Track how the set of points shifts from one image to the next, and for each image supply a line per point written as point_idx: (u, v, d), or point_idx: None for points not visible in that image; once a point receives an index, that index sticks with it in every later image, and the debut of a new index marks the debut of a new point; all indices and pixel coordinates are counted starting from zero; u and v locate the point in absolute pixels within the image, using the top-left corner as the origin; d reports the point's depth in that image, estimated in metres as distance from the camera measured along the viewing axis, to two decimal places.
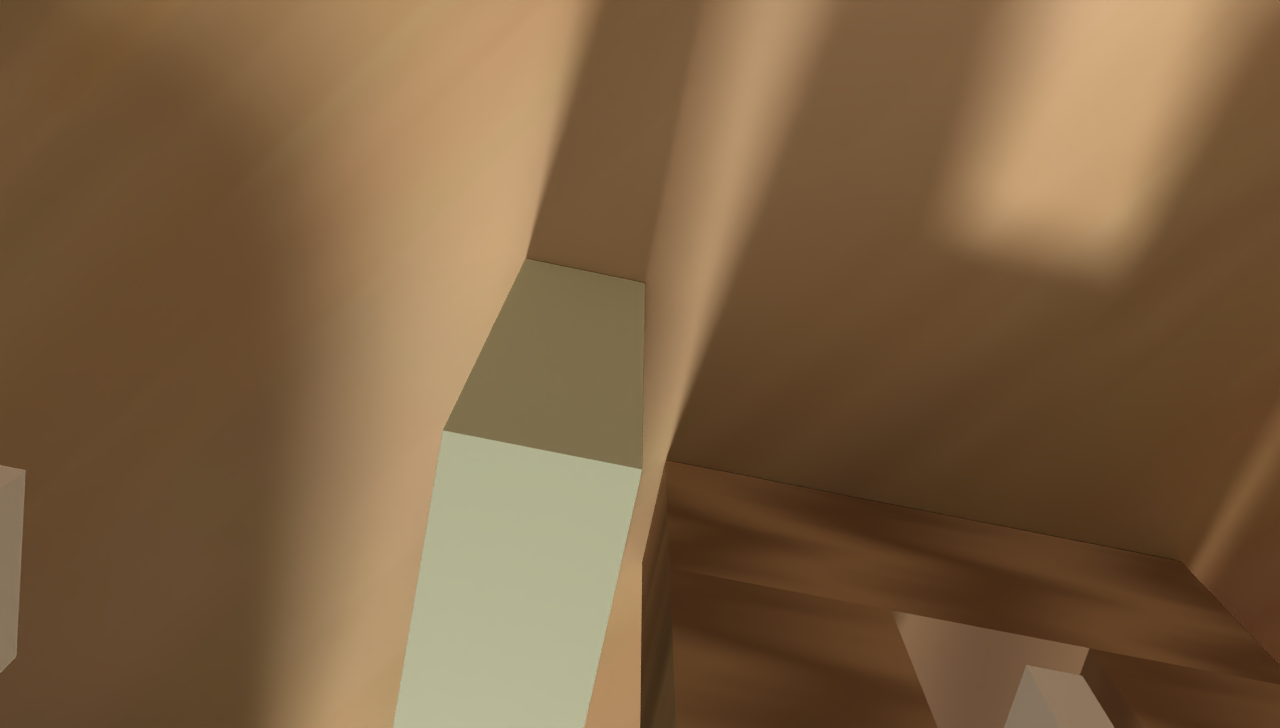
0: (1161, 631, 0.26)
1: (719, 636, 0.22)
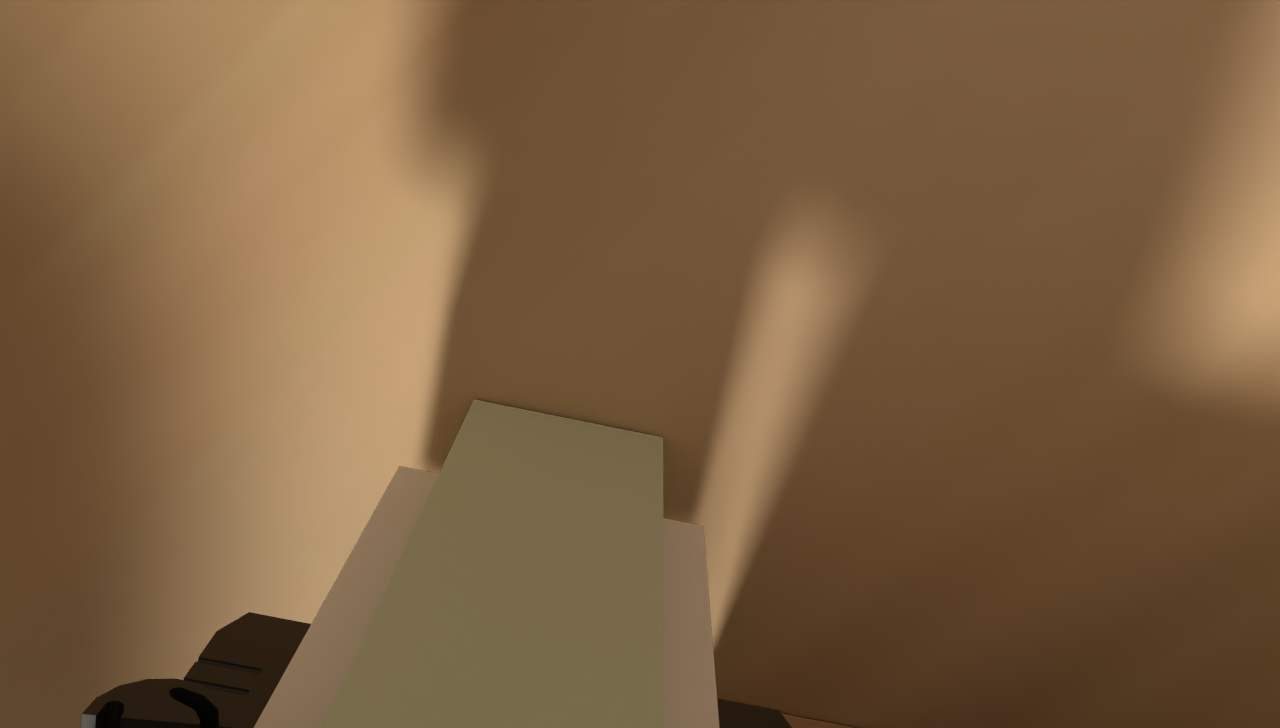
0: None
1: None
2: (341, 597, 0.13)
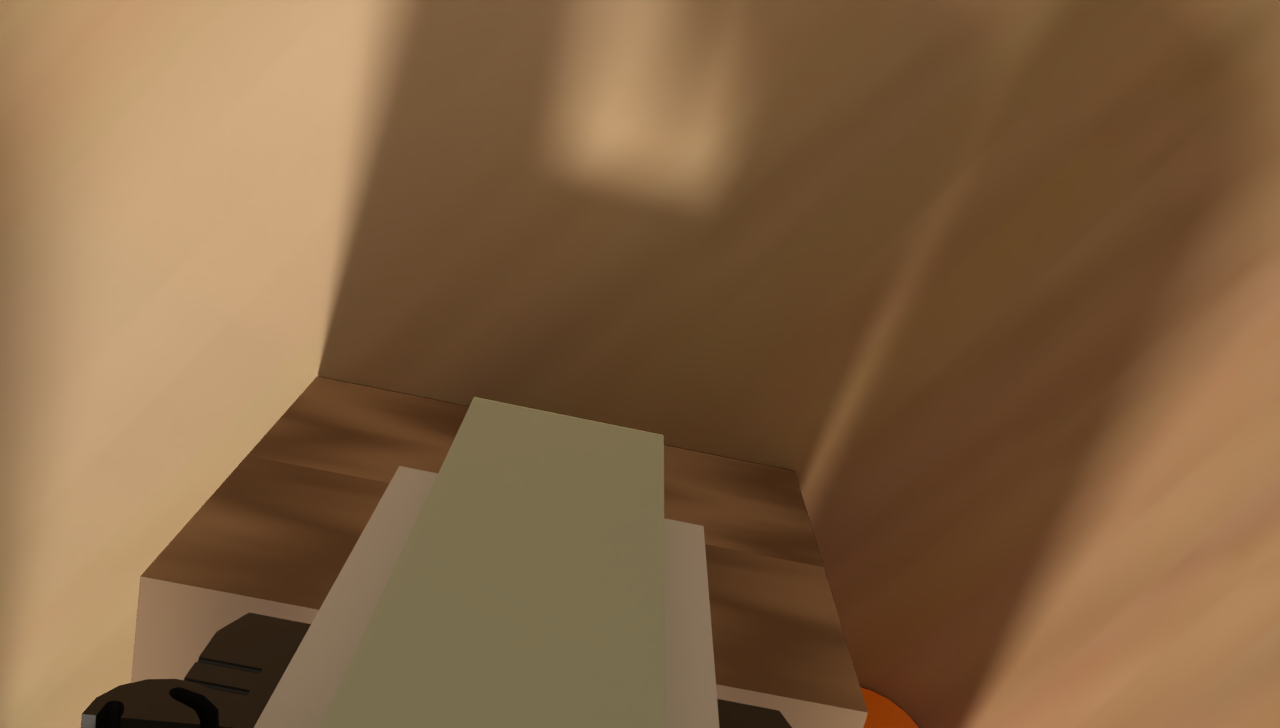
0: (718, 521, 0.29)
1: (252, 506, 0.25)
2: (341, 597, 0.13)
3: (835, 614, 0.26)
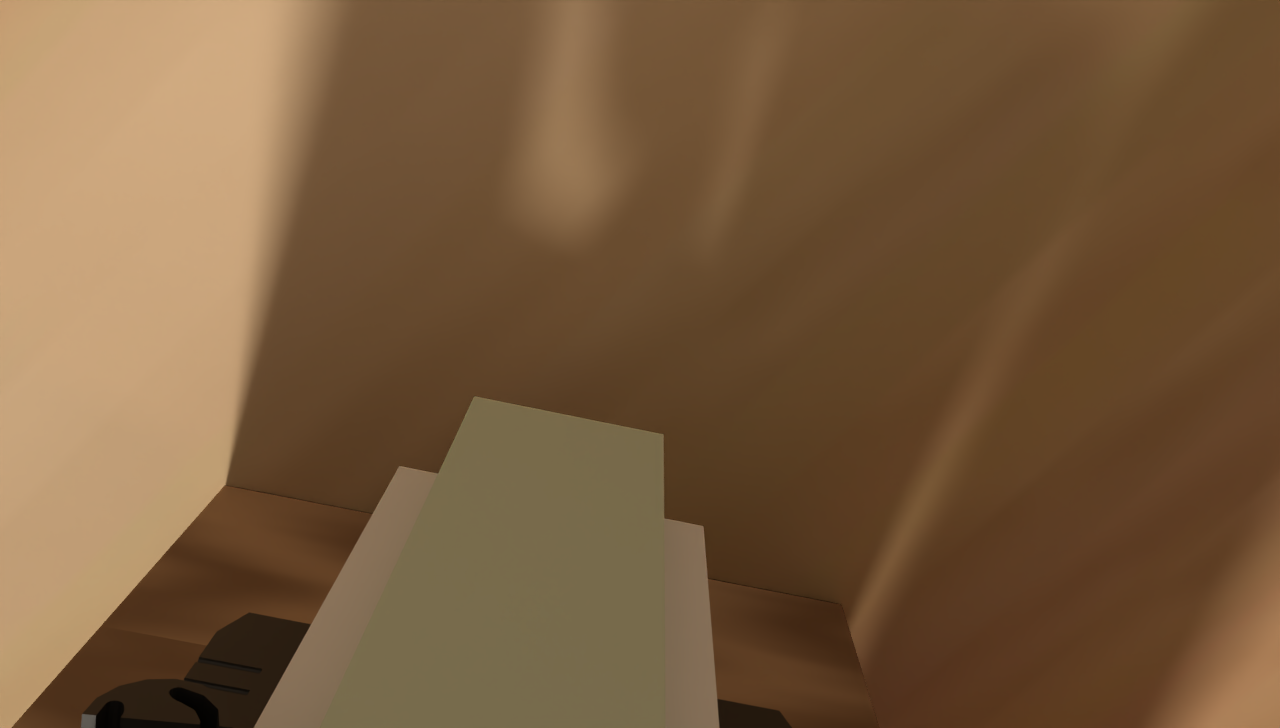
0: (748, 699, 0.22)
1: None
2: (341, 597, 0.13)
3: None
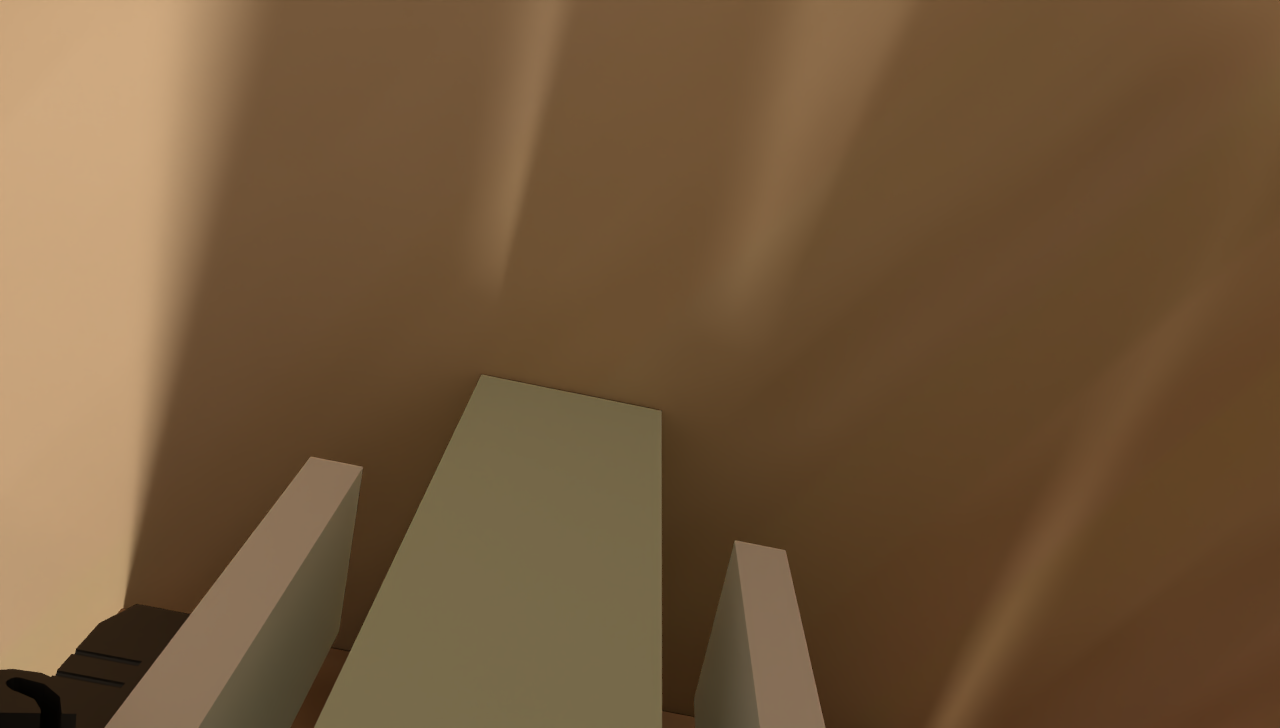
0: None
1: None
2: (227, 588, 0.13)
3: None
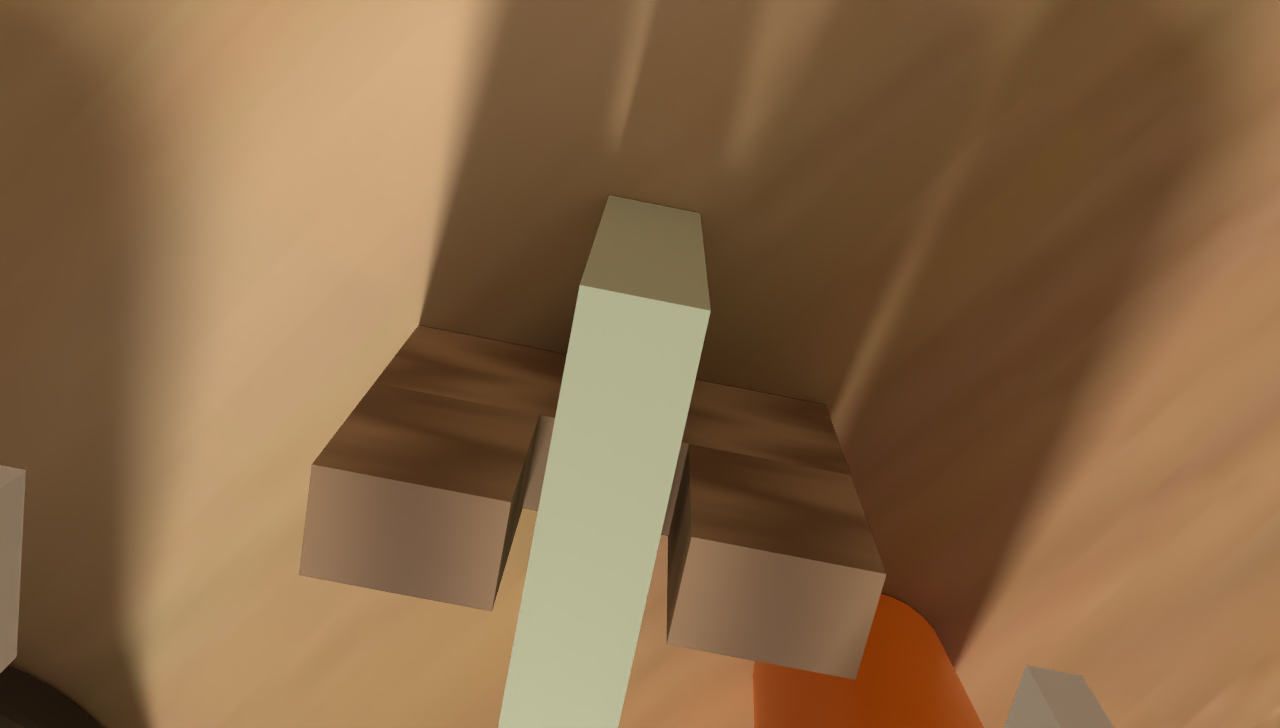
0: (762, 439, 0.35)
1: (386, 419, 0.31)
2: None
3: (860, 508, 0.32)
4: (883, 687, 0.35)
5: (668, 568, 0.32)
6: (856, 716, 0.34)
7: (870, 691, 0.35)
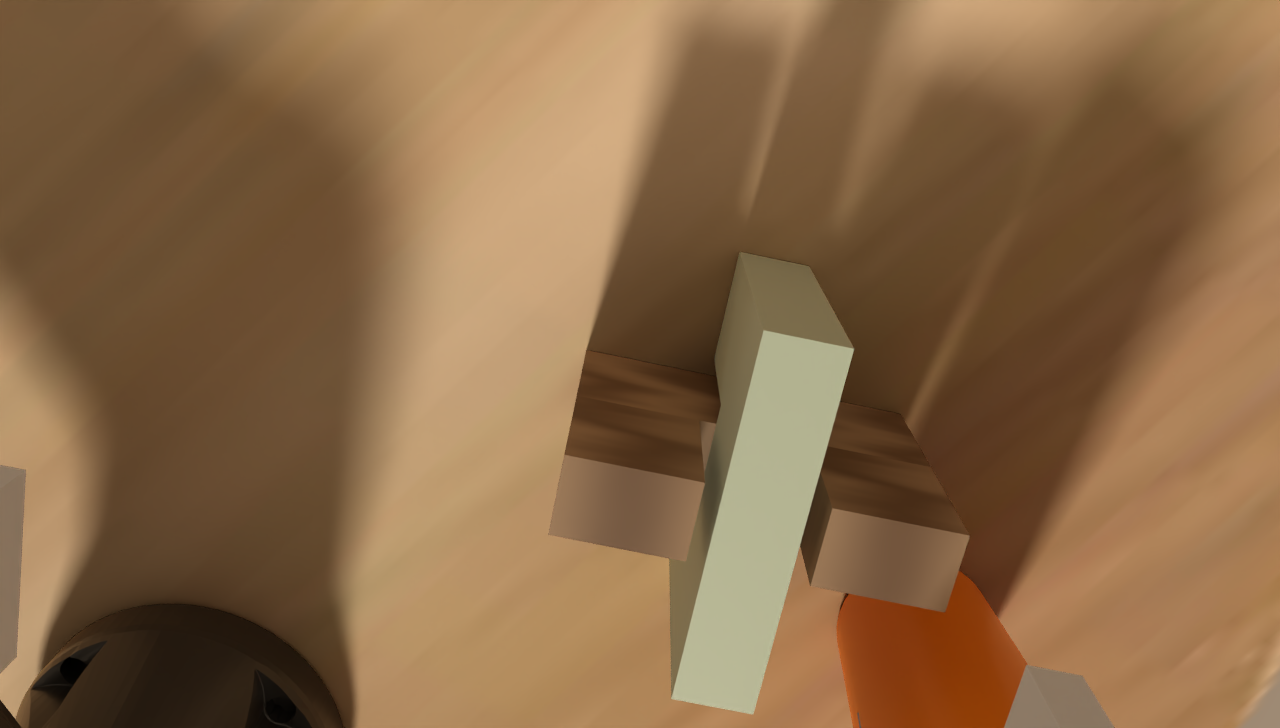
0: (861, 440, 0.46)
1: (597, 422, 0.42)
2: None
3: (942, 490, 0.43)
4: (951, 627, 0.46)
5: None
6: (933, 648, 0.45)
7: (942, 630, 0.46)
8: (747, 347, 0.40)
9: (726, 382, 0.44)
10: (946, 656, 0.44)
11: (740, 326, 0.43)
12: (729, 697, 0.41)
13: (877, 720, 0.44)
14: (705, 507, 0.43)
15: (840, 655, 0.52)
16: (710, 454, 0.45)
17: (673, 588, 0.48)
